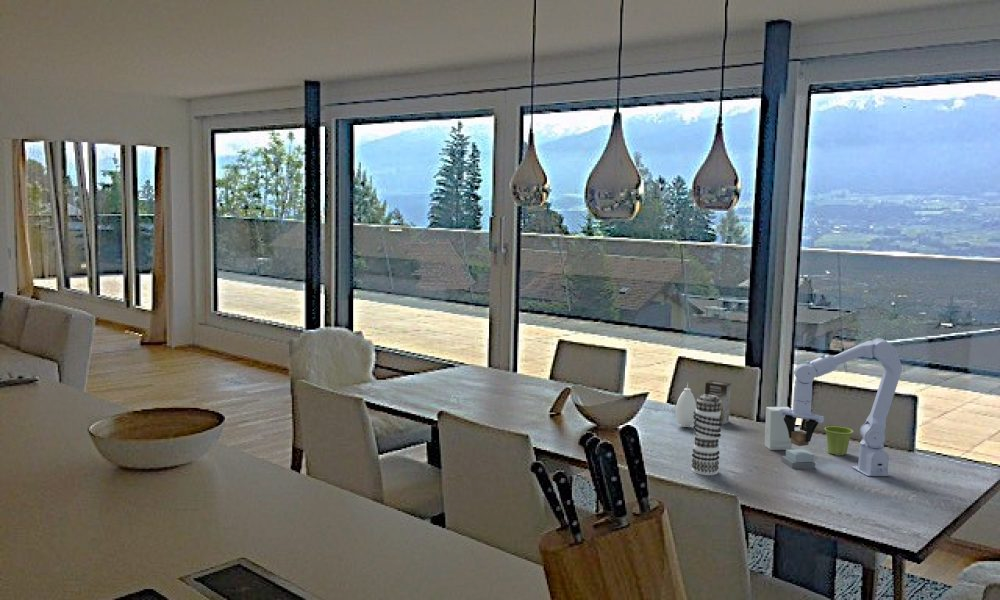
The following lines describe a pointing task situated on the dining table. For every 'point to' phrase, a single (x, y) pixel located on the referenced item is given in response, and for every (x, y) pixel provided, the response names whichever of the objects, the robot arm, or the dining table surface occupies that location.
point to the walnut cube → (798, 438)
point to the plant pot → (838, 439)
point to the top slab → (799, 455)
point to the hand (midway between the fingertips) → (799, 439)
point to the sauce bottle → (686, 408)
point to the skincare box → (776, 430)
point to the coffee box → (720, 396)
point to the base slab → (797, 463)
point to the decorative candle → (706, 435)
